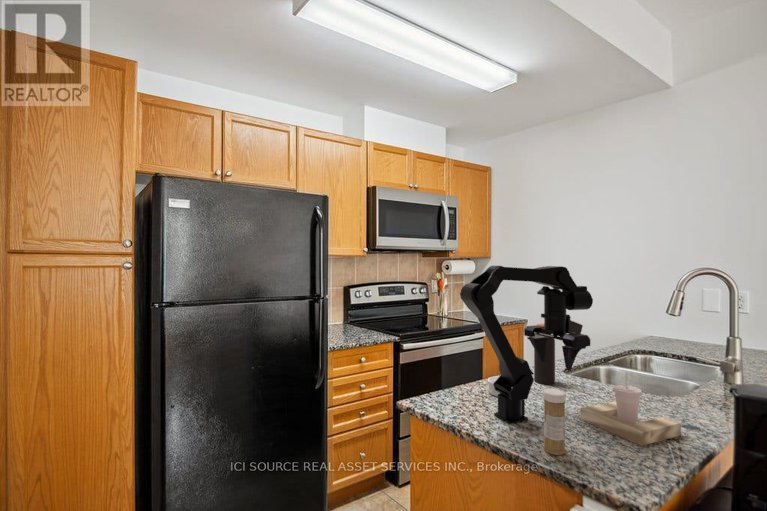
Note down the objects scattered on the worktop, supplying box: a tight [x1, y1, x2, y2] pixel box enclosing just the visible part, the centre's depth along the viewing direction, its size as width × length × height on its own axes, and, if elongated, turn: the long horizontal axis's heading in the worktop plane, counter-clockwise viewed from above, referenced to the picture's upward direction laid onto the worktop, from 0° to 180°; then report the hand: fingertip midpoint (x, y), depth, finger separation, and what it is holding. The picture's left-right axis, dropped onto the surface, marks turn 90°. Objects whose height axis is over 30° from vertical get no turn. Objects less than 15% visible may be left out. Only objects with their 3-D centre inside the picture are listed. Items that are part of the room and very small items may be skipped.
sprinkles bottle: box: [543, 388, 567, 456], centre depth 90 cm, size 5×5×13 cm
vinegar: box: [533, 323, 556, 385], centre depth 142 cm, size 7×7×20 cm
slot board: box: [579, 400, 682, 447], centre depth 103 cm, size 14×17×3 cm
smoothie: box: [612, 371, 643, 424], centre depth 104 cm, size 6×6×14 cm
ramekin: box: [487, 376, 512, 398], centre depth 129 cm, size 9×9×4 cm
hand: (555, 366), depth 113 cm, fingers open, 9 cm apart
